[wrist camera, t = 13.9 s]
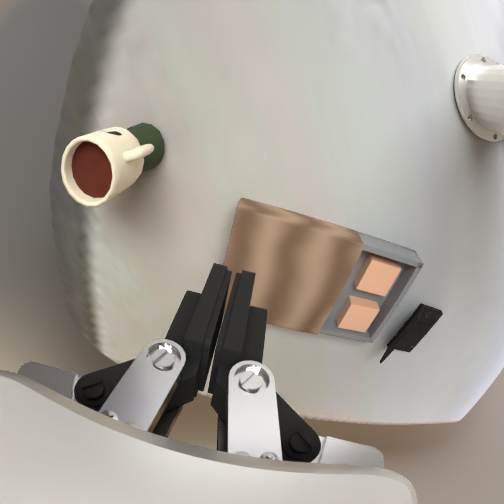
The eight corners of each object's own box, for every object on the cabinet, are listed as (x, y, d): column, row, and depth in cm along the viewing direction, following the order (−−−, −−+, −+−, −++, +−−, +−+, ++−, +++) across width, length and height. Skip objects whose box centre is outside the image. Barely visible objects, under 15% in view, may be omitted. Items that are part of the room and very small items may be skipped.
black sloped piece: (419, 355, 46) (407, 383, 38) (390, 339, 50) (373, 364, 43) (445, 306, 41) (440, 329, 34) (413, 290, 45) (402, 310, 38)
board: (357, 231, 36) (364, 246, 33) (315, 316, 44) (317, 334, 41) (241, 197, 36) (236, 209, 32) (218, 292, 44) (213, 309, 40)
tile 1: (351, 303, 39) (349, 295, 41) (337, 327, 41) (336, 318, 43) (379, 310, 39) (376, 301, 41) (365, 332, 42) (362, 323, 43)
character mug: (176, 108, 30) (121, 117, 19) (188, 161, 34) (143, 196, 23) (106, 132, 32) (41, 155, 21) (119, 179, 36) (62, 217, 25)
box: (414, 251, 36) (423, 263, 33) (368, 327, 45) (371, 342, 42) (357, 231, 36) (363, 244, 33) (315, 316, 44) (317, 332, 41)
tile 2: (372, 259, 35) (368, 252, 37) (356, 288, 37) (353, 280, 39) (401, 269, 35) (397, 261, 37) (384, 296, 38) (381, 288, 39)
